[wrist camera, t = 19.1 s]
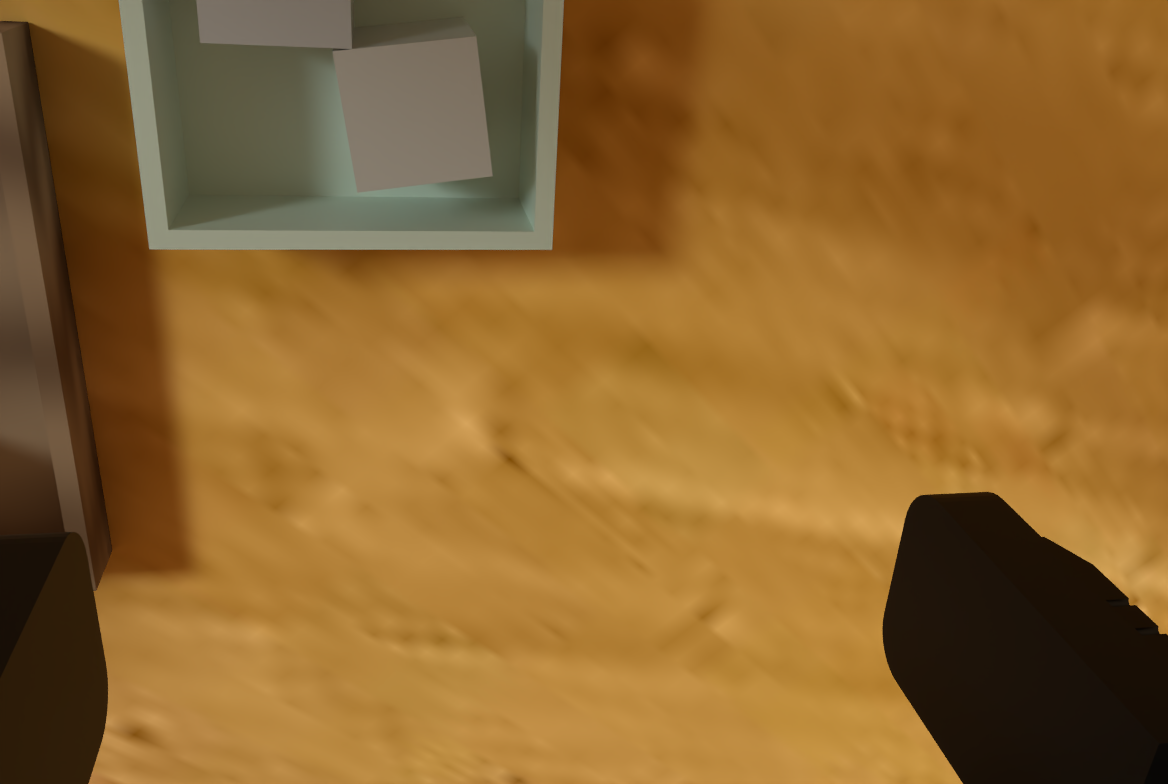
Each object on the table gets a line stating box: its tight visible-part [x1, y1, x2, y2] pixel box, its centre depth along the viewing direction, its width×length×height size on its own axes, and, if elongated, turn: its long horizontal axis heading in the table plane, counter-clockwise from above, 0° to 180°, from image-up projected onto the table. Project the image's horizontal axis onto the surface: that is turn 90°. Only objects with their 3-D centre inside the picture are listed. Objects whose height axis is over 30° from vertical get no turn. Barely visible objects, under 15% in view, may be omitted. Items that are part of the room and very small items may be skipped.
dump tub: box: [119, 0, 564, 250], centre depth 32 cm, size 12×12×5 cm
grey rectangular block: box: [332, 16, 493, 193], centre depth 32 cm, size 4×4×5 cm
